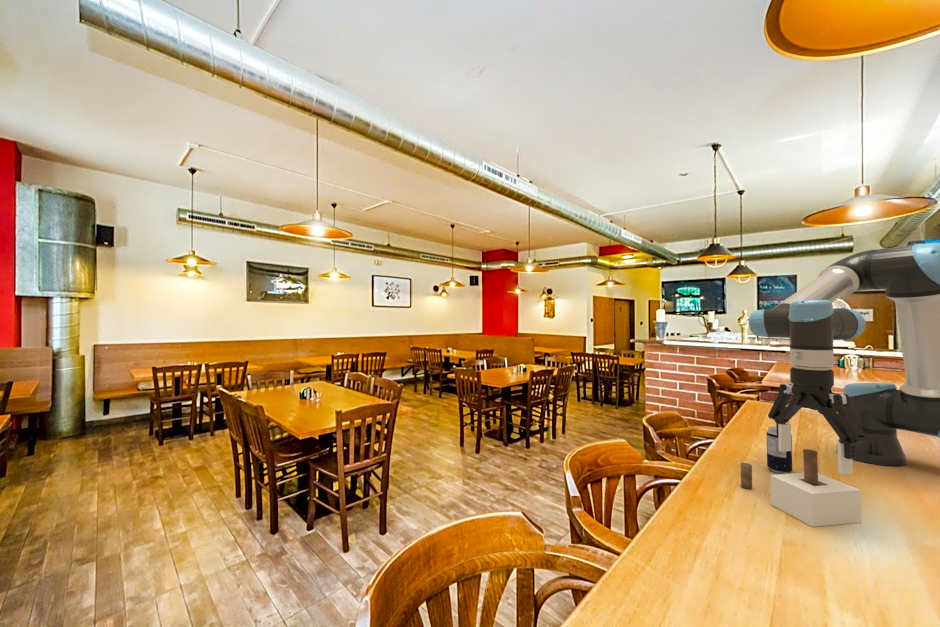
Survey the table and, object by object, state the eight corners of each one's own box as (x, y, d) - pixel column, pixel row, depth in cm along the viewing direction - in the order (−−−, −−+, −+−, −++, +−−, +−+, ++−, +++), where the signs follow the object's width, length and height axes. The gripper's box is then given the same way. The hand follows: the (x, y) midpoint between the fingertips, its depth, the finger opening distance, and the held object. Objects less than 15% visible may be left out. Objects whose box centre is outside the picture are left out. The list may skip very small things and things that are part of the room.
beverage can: (797, 475, 109) (796, 432, 109) (773, 474, 110) (773, 431, 110) (785, 467, 115) (784, 427, 115) (763, 466, 116) (762, 426, 116)
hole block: (814, 500, 94) (814, 471, 94) (861, 522, 84) (860, 490, 85) (770, 504, 93) (770, 475, 93) (812, 526, 83) (812, 493, 83)
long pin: (811, 510, 90) (809, 448, 90) (822, 515, 88) (820, 452, 88) (802, 510, 90) (800, 449, 90) (813, 515, 87) (810, 452, 88)
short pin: (746, 485, 103) (746, 462, 103) (754, 489, 101) (754, 466, 101) (738, 485, 103) (738, 463, 103) (746, 489, 101) (745, 466, 101)
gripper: (750, 361, 101) (751, 444, 101) (858, 376, 76) (860, 485, 76) (776, 361, 102) (777, 442, 102) (891, 375, 77) (893, 483, 77)
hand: (812, 461), depth 89 cm, fingers open, 13 cm apart
